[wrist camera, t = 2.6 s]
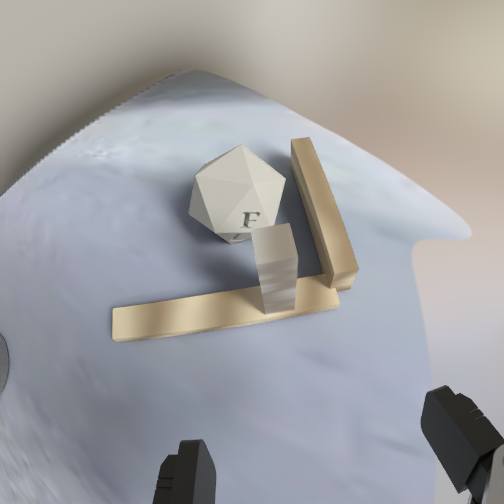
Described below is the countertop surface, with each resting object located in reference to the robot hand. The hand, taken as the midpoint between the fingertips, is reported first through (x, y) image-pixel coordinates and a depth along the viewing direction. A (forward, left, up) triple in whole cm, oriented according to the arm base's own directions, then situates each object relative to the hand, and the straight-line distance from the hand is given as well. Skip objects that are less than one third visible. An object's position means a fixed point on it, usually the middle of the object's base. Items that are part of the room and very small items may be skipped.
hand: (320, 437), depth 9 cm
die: (-2, +20, -15) cm, 25 cm away
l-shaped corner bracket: (-4, +18, -15) cm, 23 cm away
